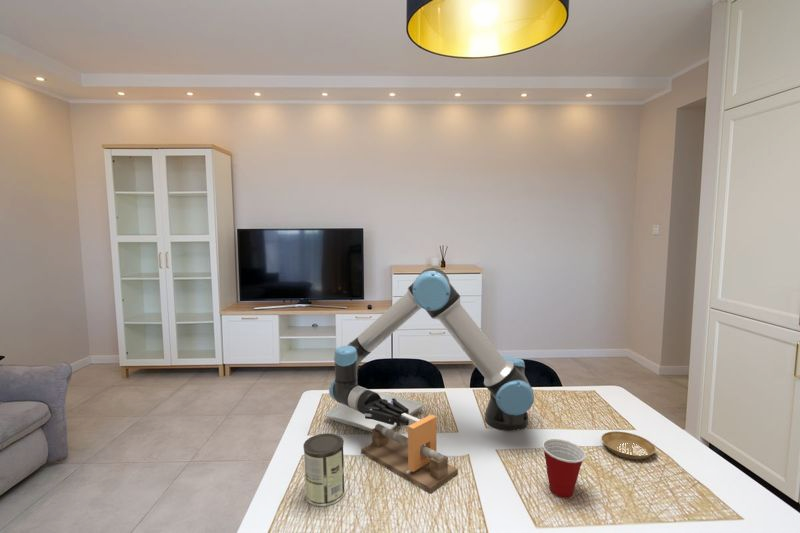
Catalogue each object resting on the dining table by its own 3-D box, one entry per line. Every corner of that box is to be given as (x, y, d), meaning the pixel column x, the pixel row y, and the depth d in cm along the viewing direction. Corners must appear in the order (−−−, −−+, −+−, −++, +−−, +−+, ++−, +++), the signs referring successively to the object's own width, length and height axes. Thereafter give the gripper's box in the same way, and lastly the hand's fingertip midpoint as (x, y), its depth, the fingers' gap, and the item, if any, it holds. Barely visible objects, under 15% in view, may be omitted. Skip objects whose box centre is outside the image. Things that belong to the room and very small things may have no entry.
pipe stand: (361, 453, 129) (360, 428, 128) (389, 438, 137) (388, 415, 137) (430, 493, 109) (430, 464, 108) (457, 473, 118) (458, 447, 117)
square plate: (425, 411, 158) (425, 402, 158) (384, 443, 135) (384, 432, 135) (368, 396, 172) (368, 387, 172) (322, 423, 150) (322, 412, 149)
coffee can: (317, 478, 116) (316, 430, 115) (351, 486, 113) (350, 436, 111) (297, 501, 106) (295, 449, 105) (333, 510, 103) (331, 456, 102)
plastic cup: (589, 507, 104) (591, 461, 102) (543, 501, 106) (545, 457, 105) (579, 481, 114) (581, 439, 113) (538, 476, 116) (539, 435, 115)
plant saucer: (594, 451, 129) (594, 443, 129) (609, 434, 140) (609, 426, 140) (648, 470, 119) (648, 461, 119) (659, 449, 130) (660, 442, 130)
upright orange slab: (408, 469, 116) (407, 426, 115) (431, 454, 123) (431, 414, 122) (413, 472, 115) (413, 428, 113) (436, 457, 122) (436, 416, 120)
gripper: (379, 406, 140) (433, 429, 124) (349, 418, 131) (403, 446, 114) (379, 384, 139) (433, 405, 123) (349, 396, 130) (403, 420, 114)
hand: (419, 425), depth 119 cm, fingers closed
